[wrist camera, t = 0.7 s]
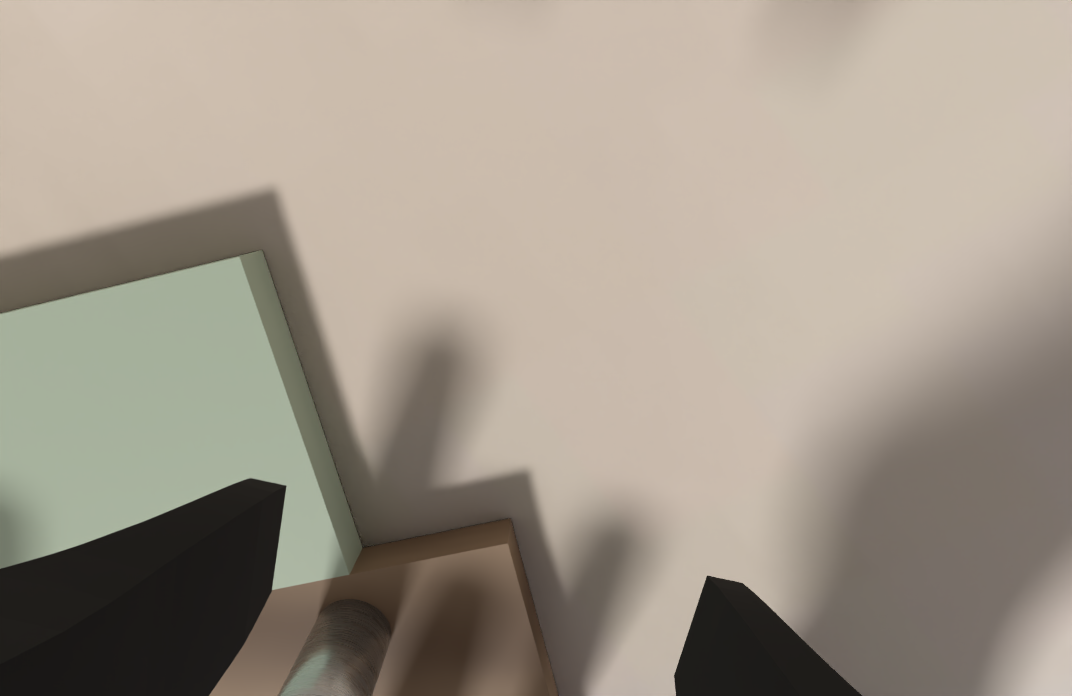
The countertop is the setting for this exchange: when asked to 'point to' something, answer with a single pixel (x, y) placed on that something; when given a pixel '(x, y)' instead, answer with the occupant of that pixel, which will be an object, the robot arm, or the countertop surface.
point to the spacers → (341, 652)
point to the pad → (163, 415)
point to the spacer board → (417, 619)
